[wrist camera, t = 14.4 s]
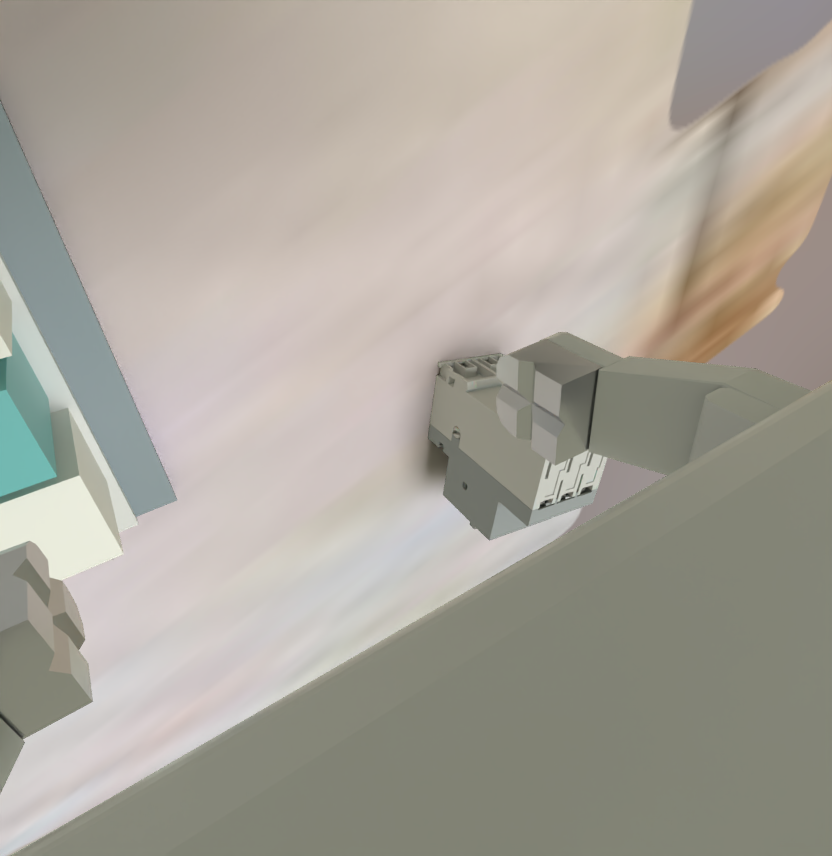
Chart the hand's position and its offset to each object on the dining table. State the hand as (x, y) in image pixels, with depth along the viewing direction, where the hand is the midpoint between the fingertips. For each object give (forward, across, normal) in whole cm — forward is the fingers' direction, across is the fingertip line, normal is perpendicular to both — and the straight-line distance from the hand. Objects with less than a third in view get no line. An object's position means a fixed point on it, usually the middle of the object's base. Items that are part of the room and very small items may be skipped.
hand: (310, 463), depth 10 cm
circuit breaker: (+31, -24, +27) cm, 48 cm away
